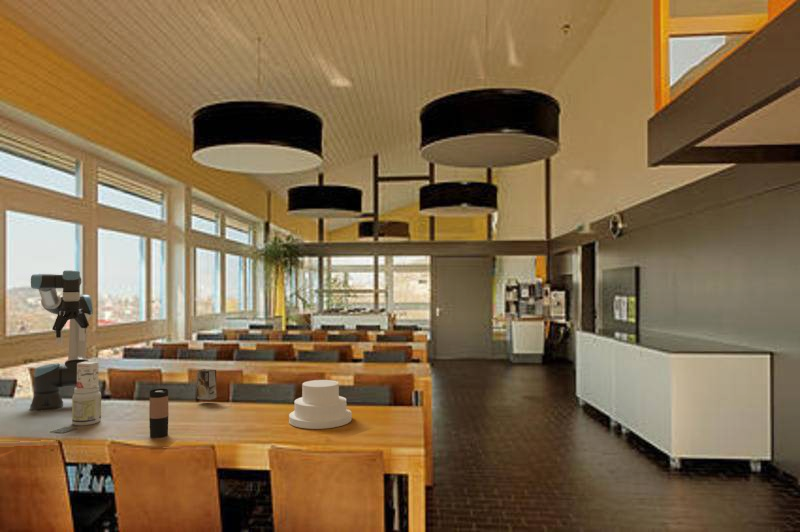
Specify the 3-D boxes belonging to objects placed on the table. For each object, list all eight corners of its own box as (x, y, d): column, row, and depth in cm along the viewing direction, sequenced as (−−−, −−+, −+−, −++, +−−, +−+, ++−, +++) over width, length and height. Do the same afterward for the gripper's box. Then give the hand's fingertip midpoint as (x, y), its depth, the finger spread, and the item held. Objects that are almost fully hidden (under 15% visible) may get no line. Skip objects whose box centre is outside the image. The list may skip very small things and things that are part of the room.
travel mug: (153, 433, 242) (153, 388, 242) (170, 433, 242) (170, 388, 243) (146, 439, 234) (146, 392, 234) (165, 438, 235) (165, 392, 235)
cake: (320, 432, 243) (320, 392, 243) (275, 421, 261) (275, 384, 261) (364, 418, 267) (364, 381, 267) (320, 409, 285) (320, 375, 285)
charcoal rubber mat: (65, 427, 252) (65, 426, 252) (77, 428, 250) (77, 427, 251) (50, 432, 245) (50, 431, 245) (62, 433, 243) (62, 432, 243)
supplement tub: (84, 418, 268) (84, 384, 268) (107, 419, 267) (107, 384, 267) (65, 425, 256) (65, 389, 256) (89, 426, 254) (89, 390, 255)
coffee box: (217, 397, 312) (217, 369, 312) (209, 400, 306) (209, 371, 306) (204, 396, 316) (204, 368, 316) (196, 398, 310) (196, 370, 310)
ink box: (75, 387, 260) (75, 362, 260) (84, 385, 265) (84, 361, 265) (90, 388, 258) (90, 363, 258) (99, 386, 263) (99, 361, 263)
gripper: (84, 299, 291) (84, 338, 291) (43, 301, 266) (43, 345, 266) (96, 299, 289) (96, 339, 289) (56, 302, 265) (56, 345, 265)
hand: (71, 342), depth 278 cm, fingers open, 13 cm apart
